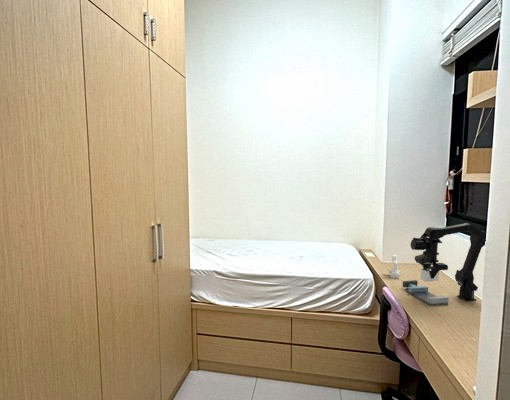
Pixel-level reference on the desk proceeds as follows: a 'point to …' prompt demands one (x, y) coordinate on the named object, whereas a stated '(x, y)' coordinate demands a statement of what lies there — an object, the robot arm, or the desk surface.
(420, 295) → the vise base
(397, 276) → the figurine
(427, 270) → the steel block
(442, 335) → the desk surface
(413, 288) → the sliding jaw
